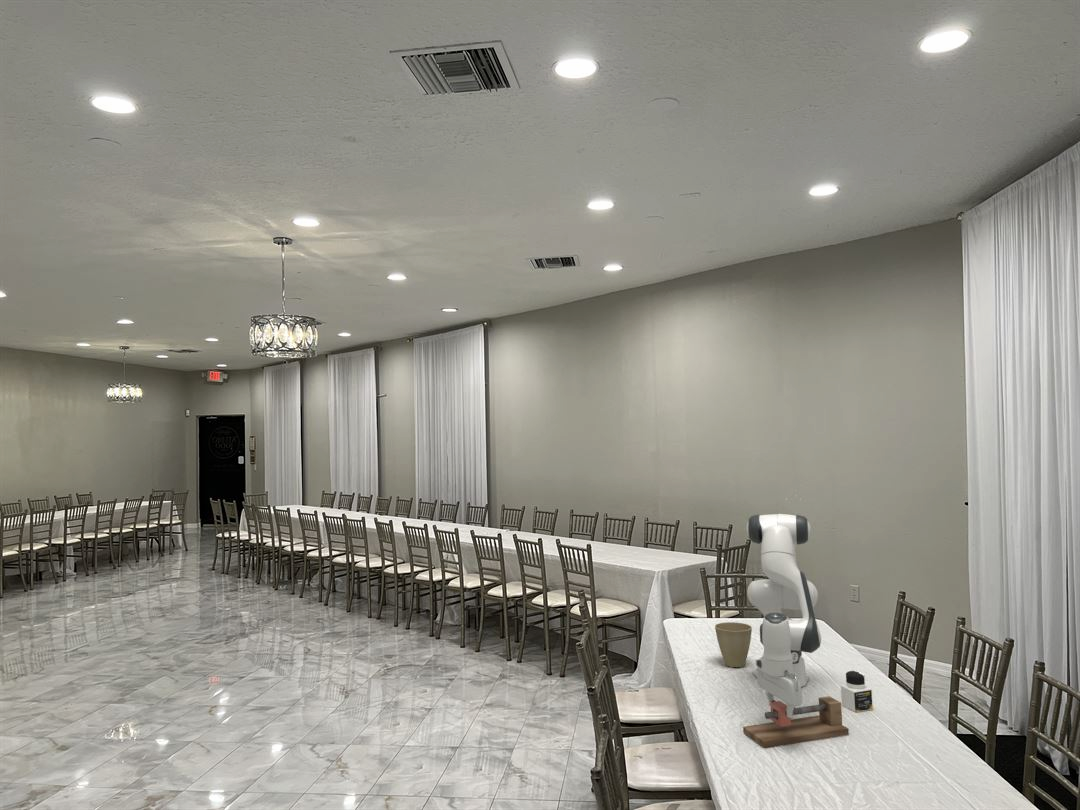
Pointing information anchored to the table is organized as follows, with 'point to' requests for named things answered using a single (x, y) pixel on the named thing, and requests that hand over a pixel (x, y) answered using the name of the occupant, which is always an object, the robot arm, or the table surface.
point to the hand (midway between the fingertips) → (780, 711)
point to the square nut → (780, 713)
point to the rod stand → (801, 725)
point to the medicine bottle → (856, 692)
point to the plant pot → (734, 642)
